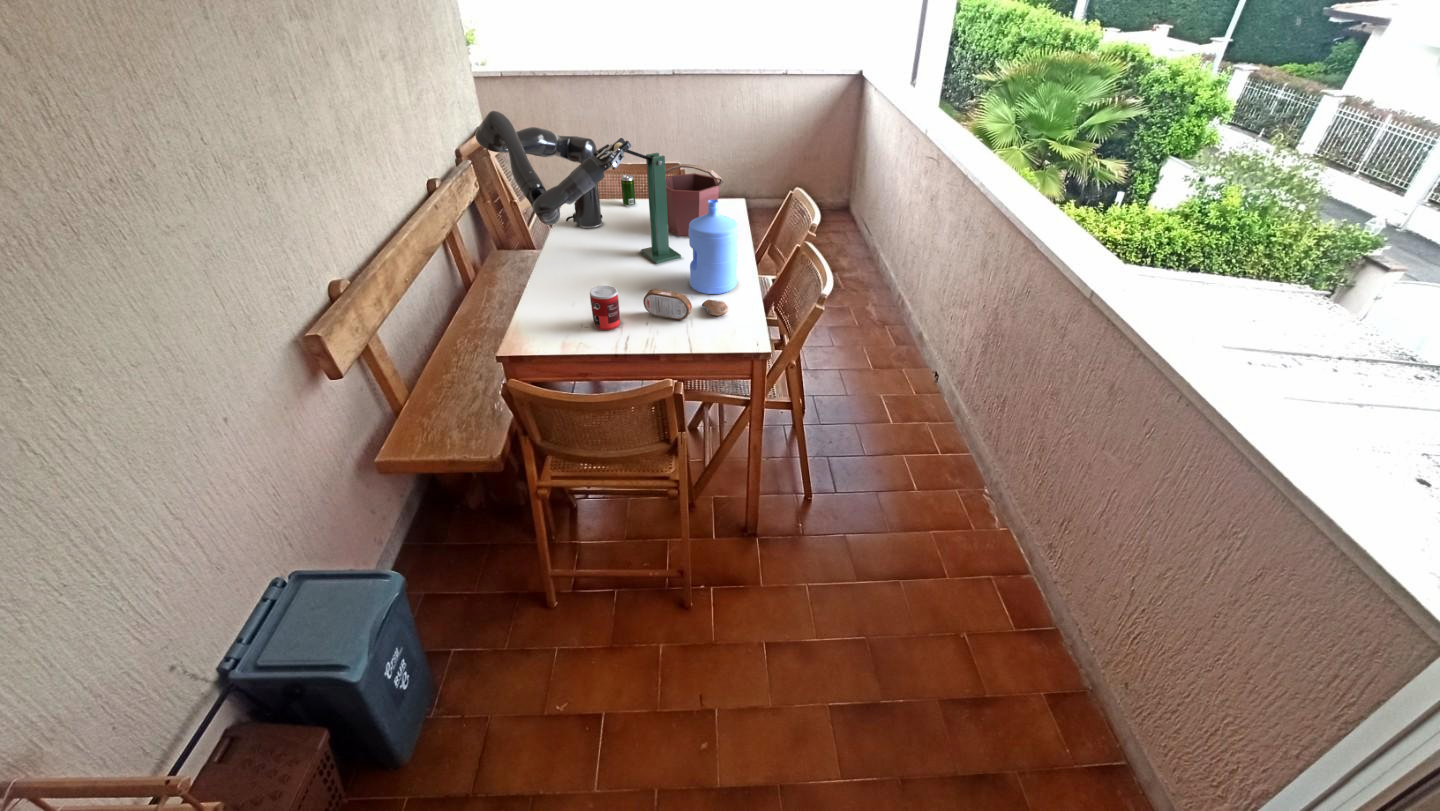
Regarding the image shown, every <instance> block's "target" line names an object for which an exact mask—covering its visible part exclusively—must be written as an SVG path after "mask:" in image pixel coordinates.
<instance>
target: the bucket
mask: <svg viewBox="0 0 1440 811" xmlns="http://www.w3.org/2000/svg"><path fill="white" fill-rule="evenodd" d="M682 168H683V169H684V168H686V169H694V170H697V171H701V172H703V173H707V174H708V175H706V174H700V173H694V172H693V173H685V174H684V173H683V174H673V175H669V176H668V177H667V176H666V194H667V216H668V231H670V232H671V233H673V234H674V235H676V236H677V237H682V238H683V237H684V238H685V237H687V238H689V223H690V222H691V221H692V220H693V219H695V218H698V217H700V216H703V215H706V214H708V206H709V203H708V201H709V200H718V201H719V196H720V187H721V186H722V184H723V183H724V180H723V179H722V177H721V176H720V175H719V174H717V173H716V172H715V171H714V170H713V169H710V168H707V167H705V166H702V165H697V164H692V163H691V164H690V163H681V164H677V165H675V166H672V167H670V168H667V169H665V172H666V174H668V173H669V172H672V171H674V170H678V169H682Z"/></svg>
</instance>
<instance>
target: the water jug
mask: <svg viewBox="0 0 1440 811" xmlns="http://www.w3.org/2000/svg"><path fill="white" fill-rule="evenodd" d="M708 203H709V206H708V214H706V215H703V216H700V217H698V218H695V219H693V220H692V221H691V222H690V223H689V237H688V239H689V240H688V243H689V247H690V248H691V250H692V260H691V262H690V264H689V284H690V287H691V288H692V289H693V290H695V291H696V292H699V293H701V294H707V295H719V294H725V293H728V292H730V291H732V290H733V289H735V288H736V286H737V284H738V277H737V274H738V273H737V270H738V236H739V230H738V223H737V221H736V220H735V219H733V218H731V217H728V216H726V215H724V214H720V213H719V199H718V200H709V201H708Z"/></svg>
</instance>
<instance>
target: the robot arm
mask: <svg viewBox="0 0 1440 811" xmlns="http://www.w3.org/2000/svg"><path fill="white" fill-rule="evenodd" d="M474 134H475V135H474V136H475V140H476V142H477V143H478V144H479V145H480V146H481V147H482V148H484V149H485V150H488V151H490V152H494V153H501V154H503V153H505V154H508V157H509V164H510V170H511V174H512V177H513V180H514V182H515V184H516V186H517V187H518V188H519V190H520V192H521V193H522V194H523V196H524V197H525V198H526V199H527V202H529V204H530V205H531V207H532V210H533V212H534V214H535V215H536V217H537V218H538V220H539V221H540V222H541V223H542V224H544V225H546V226H553V225H556V224H557V223H558V222H559V221H560V218H561V212H560V207H563V206H564V205H565V204H566V205H569V206H570V205H572V204H573V206H574V212H573V214H572V215H570V216H568V217H566V219H565V221H566V222H569V220H570V219H572V222H573V223H576V226H577V227H578V228H582V229H596V228H599V227H601V226H602V225H603V220H602V219H604V217H603V214H602V209H601V201H600V192H599V183H600V182H601V181H602V180H603V179H605V172H606V171H607V170H609V169H612V170H613V171H615V170H616V169H617V168H618V167H619V165H620V164H621V163H622V161H623V160H624V159H625V156H624V154H625V153H626V151H627V150H630V148H631V147H632V144H631V143H630V141H629V140H625V139H624V138H623V137H620V138H618V139H617V140H616V141H615V142H614V143H611V144H609V143H607V144H605V145H603V146H602V147H601V148H599V149H597V145H596V143H595V141H594V140H593V139H592V138H589V137H584V136H578V135H559V134H557V133H555V132H553V131H552V130H549V129H546V128H541V127H538V126H537V127H536V126H530V127H526V128H521V129H520V130H517V131H516V128H515V126H514V124H513V123H512V121H511V120H510V119H509V118H508V117H507V116H506V115H505V114H504V113H502V112H500V111H498V110H490V111H489V112H488V113H487V114H486V115H485V117H484V119H483V120H482V121H481V122H480V124H479V125H478V127H477V129H476V131H475V133H474ZM616 143H622V145H621V146H619V147H618V148H617V149H616V150H614V145H615V144H616ZM529 155H530V156H534V157H539V158H554V157H558V158H561V159H564V160H567V161H569V162H573V163H576V164H579V165H578V166H577V167H575V168H574V169H573V170H572V171H571V172H570V173H569V174H568V175H567V176H566V177H565V178H564V179H563V180H562V181H560V182H559V183H558V184H557V185H555V186H552V187H550V188H548V189H546V187H545V185H544V184H543V181H542V180H541V179H540V176H539V175H538V174H537V172H536V170H535V169H534V167H533V166H532V164H531V162H530V160H529V158H528V156H529Z"/></svg>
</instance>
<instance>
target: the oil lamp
mask: <svg viewBox="0 0 1440 811" xmlns="http://www.w3.org/2000/svg"><path fill="white" fill-rule="evenodd" d="M701 306H702V307H703V308H706V309H707V311H706V313H707V314H709V315H712V316H716V317H721V316H724V315H726V314H727V313H728V312H729V305H728V304H727V303H726V302H725V301H724V300H717V299H707V300H705V301H703V302H702V304H701Z"/></svg>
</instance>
